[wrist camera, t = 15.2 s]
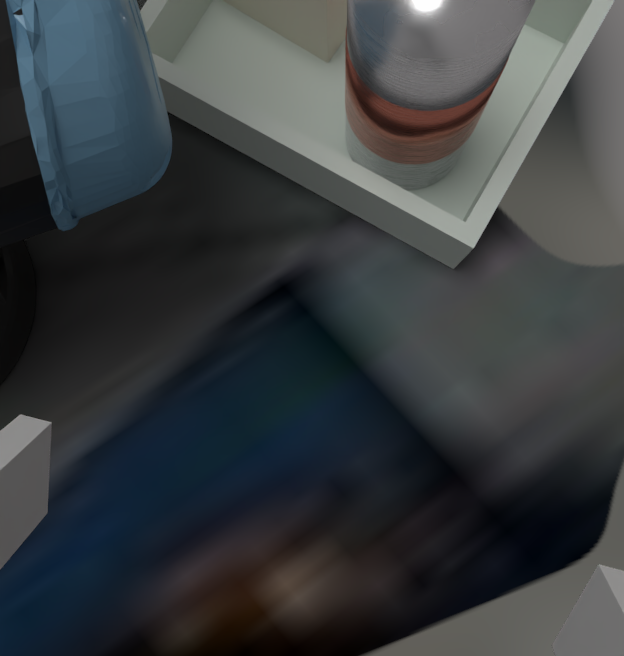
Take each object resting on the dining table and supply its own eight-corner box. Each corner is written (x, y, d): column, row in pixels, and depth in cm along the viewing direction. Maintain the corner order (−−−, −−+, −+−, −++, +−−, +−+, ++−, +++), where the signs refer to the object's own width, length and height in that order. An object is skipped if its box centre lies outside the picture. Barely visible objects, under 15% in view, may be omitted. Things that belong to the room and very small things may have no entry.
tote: (142, 97, 33) (113, 51, 29) (273, -104, 35) (264, -177, 30) (453, 269, 31) (473, 248, 27) (579, 48, 33) (618, -7, 28)
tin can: (323, 157, 31) (311, 8, 19) (380, 58, 32) (402, -144, 20) (431, 212, 30) (487, 91, 19) (487, 109, 31) (577, -71, 19)
